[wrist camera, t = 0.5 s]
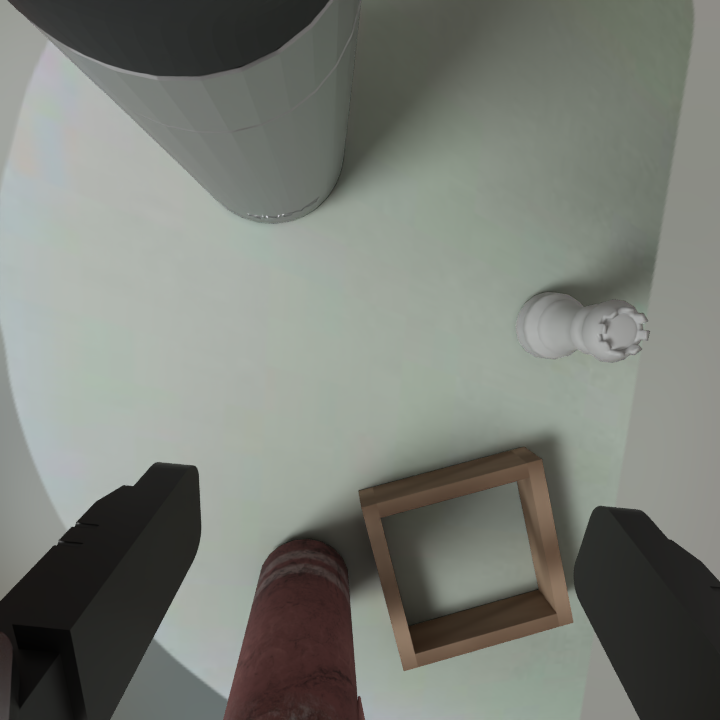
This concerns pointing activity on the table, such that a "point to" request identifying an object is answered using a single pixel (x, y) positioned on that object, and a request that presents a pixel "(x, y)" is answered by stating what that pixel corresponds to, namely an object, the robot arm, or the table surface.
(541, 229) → the table surface
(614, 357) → the rook chess piece
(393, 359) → the table surface
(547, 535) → the walnut collar
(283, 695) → the can
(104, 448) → the table surface
